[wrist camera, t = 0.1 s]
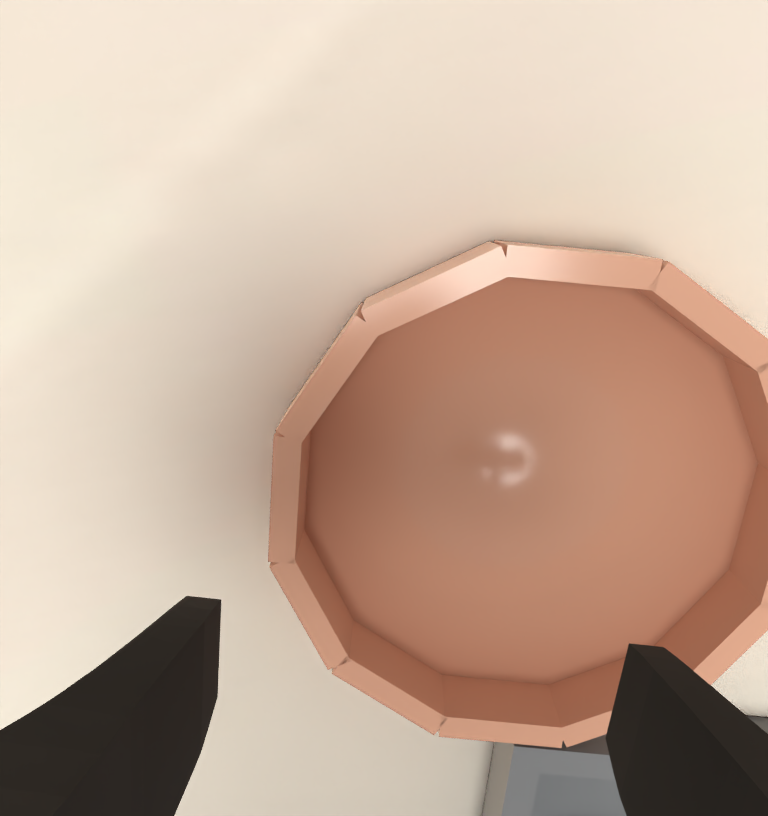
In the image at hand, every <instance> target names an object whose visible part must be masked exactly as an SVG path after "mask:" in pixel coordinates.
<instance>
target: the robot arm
mask: <svg viewBox="0 0 768 816" xmlns="http://www.w3.org/2000/svg"><path fill="white" fill-rule="evenodd" d="M220 617H221V600H219V599H210V598H201V597H191V596H186V597H185V598H184V599H182V600H181V601H180V602H178V603H177V604H176V605H174V606H173V607H172V608H171V609H169V610H168V611H167V612H166V613H165V614H163V615H162V616H161V617H160V618H159V619H157V620H156V621H155V622H154V623H152V624H151V625H150V626H149V627H148V628H146V629H145V630H144V631H143V632H141V633H140V634H139V635H138V636H137V637H135V638H134V639H133V640H132V641H130V642H129V643H128V644H126V645H125V646H124V647H123V648H121V649H120V650H119V651H117V652H116V653H115V654H114V655H112V656H111V657H110V658H108V659H107V660H106V661H105V662H103V663H102V664H101V665H99V666H98V667H97V668H95V669H94V670H92V671H91V672H90V673H88V674H87V675H85V676H84V677H83V678H81V679H80V680H78V681H77V682H75V683H74V684H73V685H71V686H70V687H68V688H67V689H66V690H64V691H63V692H61V693H60V694H58V695H57V696H55V697H54V698H52V699H51V700H49V701H48V702H46V703H45V704H43V705H41V706H40V707H38V708H37V709H35V710H33V711H32V712H30V713H29V714H27V715H25V716H24V717H22V718H20V719H18V720H17V721H15V722H13V723H12V724H10V725H8V726H7V727H5V728H3V729H1V730H0V816H174V815H175V812H176V810H177V808H178V805H179V803H180V801H181V798H182V796H183V794H184V791H185V789H186V787H187V784H188V782H189V780H190V777H191V775H192V772H193V770H194V768H195V765H196V763H197V760H198V758H199V756H200V753H201V750H202V747H203V744H204V740H205V737H206V734H207V731H208V727H209V724H210V720H211V717H212V714H213V710H214V707H215V703H216V700H217V694H218V668H219V642H220ZM606 743H607V747H608V751H609V756H610V760H611V764H612V769H613V773H614V777H615V780H616V784H617V788H618V792H619V796H620V799H621V802H622V804H623V807H624V810H625V813H626V815H627V816H768V734H767V733H766V732H765V731H764V730H763V729H761V728H760V727H759V726H758V725H757V724H755V723H754V722H753V721H752V720H751V719H749V718H748V717H747V716H746V715H745V714H743V713H742V712H741V711H740V710H739V709H738V708H736V707H735V706H734V705H733V704H732V703H731V702H729V701H728V700H727V699H726V698H725V697H723V696H722V695H721V694H720V693H719V692H718V691H716V690H715V689H714V688H713V687H712V686H711V685H710V684H708V683H707V682H706V681H705V680H704V679H702V678H701V677H700V676H699V675H698V674H697V673H695V672H694V671H693V670H692V669H691V668H690V667H688V666H687V665H686V664H685V663H683V662H682V661H681V660H680V659H679V658H677V657H676V656H675V655H674V654H672V653H671V652H670V651H668V650H667V649H666V648H664V647H659V646H649V645H640V644H631V643H629V645H628V649H627V653H626V657H625V661H624V665H623V669H622V673H621V677H620V681H619V685H618V689H617V693H616V697H615V701H614V706H613V710H612V714H611V718H610V722H609V726H608V730H607V734H606Z"/></svg>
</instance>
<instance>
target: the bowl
mask: <svg viewBox="0 0 768 816" xmlns="http://www.w3.org/2000/svg"><path fill="white" fill-rule="evenodd" d="M275 431H276V433H275V435H274V439H273V461H272V484H271V507H270V529H269V552H268V562H271V564H270V566H269V567H270V569H271V571H272V572H273V574H274V576H275V578H276V579H277V581H278V583H279V585H280V586H281V588H282V590H283V592H284V594H285V595H286V597H287V599H288V601H289V602H290V604H291V606H292V608H293V609H294V611H295V613H296V615H297V616H298V618H299V620H300V622H301V623H302V625H303V627H304V629H305V630H306V632H307V634H308V636H309V637H310V639H311V641H312V643H313V644H314V646H315V648H316V650H317V651H318V653H319V655H320V657H321V658H322V660H323V662H324V664H325V665H326V667H327V669H328V670H329V669H332V674H333V675H335V676H337V677H338V678H340V679H342V680H343V681H345V682H347V683H348V684H350V685H352V686H353V687H355V688H357V689H358V690H360V691H362V692H363V693H365V694H367V695H368V696H370V697H372V698H373V699H375V700H377V701H378V702H380V703H381V704H383V705H385V706H386V707H388V708H390V709H391V710H393V711H395V712H396V713H398V714H400V715H401V716H403V717H405V718H406V719H408V720H410V721H411V722H413V723H415V724H416V725H418V726H420V727H421V728H423V729H425V730H426V731H428V732H430V733H431V734H433V735H434V734H435V733H436V732H437V731H438V733H439V737H448V738H459V739H470V740H480V741H491V742H502V743H512V744H523V745H534V746H544V747H555V748H561V747H562V742H563V741H564V743H565V745H566V747H570V746H573V745H575V744H578V743H581V742H584V741H587V740H590V739H593V738H596V737H599V736H602V735H605V734H607V730H608V726H609V722H610V718H611V714H612V710H613V706H614V701H615V697H616V693H617V689H618V685H619V681H620V677H621V673H622V669H623V665H624V661H625V657H626V653H627V649H628V645H629V643H631V644H640V645H649V646H659V647H664V648H666V649H667V650H668V651H670V652H671V653H672V654H674V655H675V656H676V657H677V658H679V659H680V660H681V661H682V662H683V663H685V664H686V665H687V666H688V667H690V668H691V669H692V670H693V671H694V672H695V673H697V674H698V675H699V676H700V677H701V678H702V679H704V680H705V681H706V682H707V683H708V684H710V685H711V684H712V683H713V682H715V681H716V680H717V679H718V678H719V677H720V676H721V675H722V674H723V673H724V672H725V671H726V670H727V669H728V668H729V667H730V666H731V665H732V664H733V663H734V662H735V661H736V660H737V659H738V658H739V657H740V656H742V655H743V654H744V653H745V652H746V651H747V650H748V649H749V648H750V647H751V646H752V645H753V644H754V643H755V642H756V641H757V640H758V639H759V638H760V637H761V636H762V635H763V634H764V633H765V632H766V631H767V630H768V339H767V338H766V337H765V336H763V335H762V334H761V333H760V332H758V331H757V330H756V329H754V328H753V327H752V326H751V325H749V324H748V323H747V322H746V321H744V320H743V319H742V318H740V317H739V316H738V315H737V314H735V313H734V312H733V311H731V310H730V309H729V308H728V307H726V306H725V305H724V304H722V303H721V302H720V301H719V300H717V299H716V298H715V297H714V296H712V295H711V294H710V293H708V292H707V291H706V290H705V289H703V288H702V287H701V286H699V285H698V284H697V283H696V282H694V281H693V280H692V279H690V278H689V277H688V276H687V275H685V274H684V273H683V272H682V271H680V270H679V269H678V268H676V267H675V266H674V265H673V264H671V263H670V262H668V261H663V259H658V258H653V257H648V256H643V255H637V254H632V253H624V252H614V251H603V250H592V249H582V248H571V247H560V246H550V245H539V244H529V243H518V242H507V241H497V240H494V243H492V242H489V241H488V242H486V243H484V244H482V245H479V246H477V247H475V248H473V249H471V250H469V251H466V252H464V253H462V254H460V255H458V256H456V257H454V258H451V259H449V260H447V261H445V262H443V263H441V264H438V265H436V266H434V267H432V268H430V269H428V270H426V271H423V272H421V273H419V274H417V275H415V276H413V277H410V278H408V279H406V280H404V281H402V282H400V283H398V284H395V285H393V286H391V287H389V288H387V289H385V290H382V291H380V292H378V293H376V294H374V295H372V296H370V297H367V298H366V299H365V302H364V303H362V302H361V303H360V305H359V306H358V308H357V309H356V311H355V312H354V313H353V315H352V316H351V318H350V319H349V321H348V322H347V324H346V325H345V326H344V328H343V329H342V331H341V332H340V334H339V335H338V337H337V338H336V339H335V341H334V342H333V344H332V345H331V347H330V348H329V350H328V351H327V352H326V354H325V355H324V357H323V358H322V360H321V361H320V363H319V364H318V365H317V367H316V368H315V370H314V371H313V373H312V374H311V375H310V377H309V378H308V380H307V381H306V383H305V384H304V386H303V387H302V388H301V390H300V391H299V393H298V394H297V396H296V397H295V399H294V400H293V401H292V403H291V404H290V406H289V408H288V410H287V411H286V413H285V415H284V417H283V418H282V420H281V422H280V424H279V425H278V427H277V429H276V430H275Z"/></svg>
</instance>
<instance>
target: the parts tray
mask: <svg viewBox="0 0 768 816" xmlns="http://www.w3.org/2000/svg"><path fill="white" fill-rule="evenodd" d="M747 717H748V718H749V719H751V720H752V721H753V722H754V723H755V724H757V725H758V726H759V727H760V728H761V729H763V730H764V731H765V732H766V733H767V734H768V718H765V717H755V716H747ZM482 816H627V815H626V813H625V810H624V807H623V804H622V802H621V799H620V796H619V792H618V788H617V784H616V780H615V777H614V773H613V769H612V764H611V760H610V756H609V751H608V747H607V743H606V734H605V735H602V736H599V737H596V738H593V739H590V740H587V741H584V742H581V743H578V744H575V745H573V746H570V747H566V745H565V743H564V741H563V742H562V747H561V748H555V747H544V746H534V745H523V744H512V743H502V742H494V747H493V753H492V759H491V765H490V771H489V777H488V783H487V788H486V794H485V800H484V806H483V812H482Z"/></svg>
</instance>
